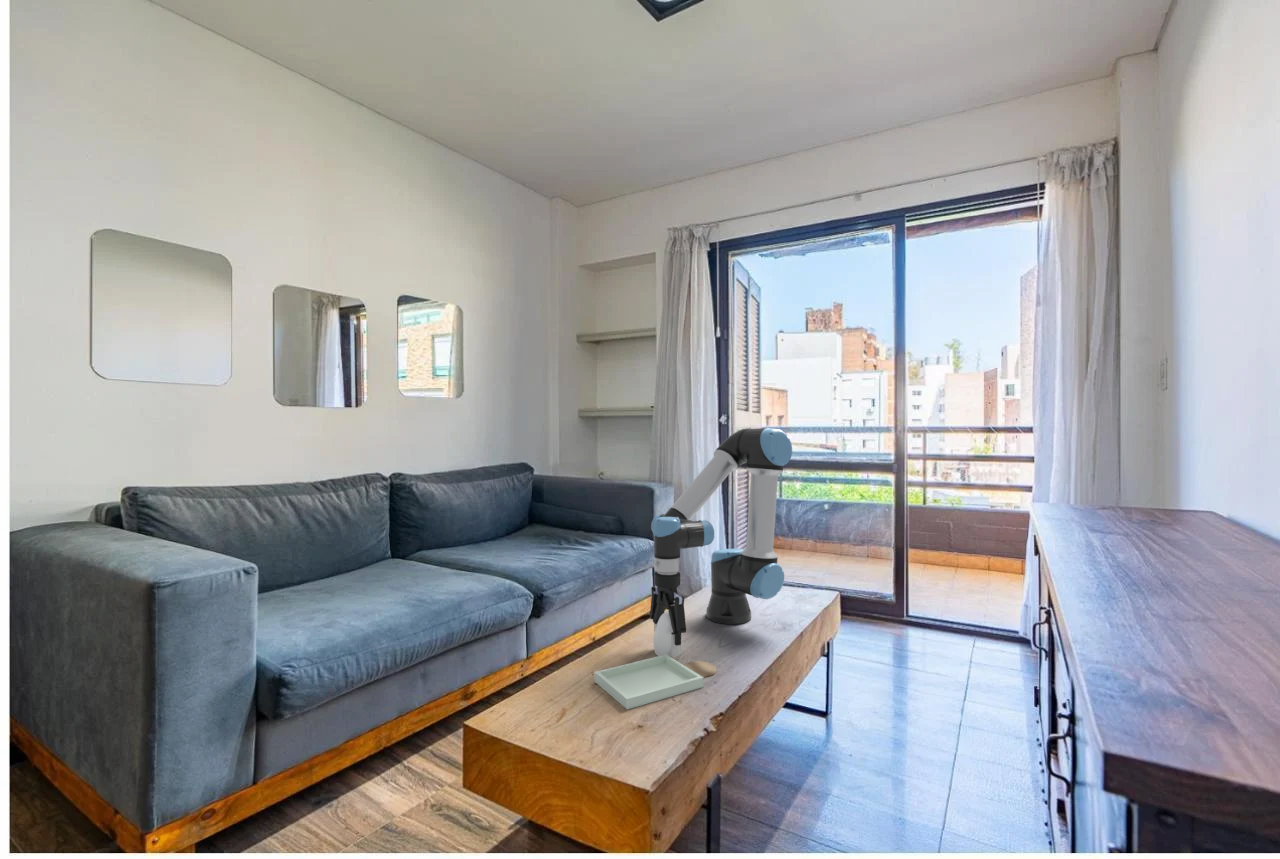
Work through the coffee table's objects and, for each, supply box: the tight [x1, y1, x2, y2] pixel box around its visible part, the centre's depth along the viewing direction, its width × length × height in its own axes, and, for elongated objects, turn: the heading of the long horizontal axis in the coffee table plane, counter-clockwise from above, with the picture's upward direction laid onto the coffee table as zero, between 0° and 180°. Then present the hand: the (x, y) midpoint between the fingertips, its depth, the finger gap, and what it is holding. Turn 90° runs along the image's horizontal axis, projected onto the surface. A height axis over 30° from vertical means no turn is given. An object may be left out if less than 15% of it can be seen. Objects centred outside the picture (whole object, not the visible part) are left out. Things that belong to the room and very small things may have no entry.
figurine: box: [653, 610, 677, 657], centre depth 164 cm, size 7×8×12 cm
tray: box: [594, 654, 705, 710], centre depth 144 cm, size 22×17×2 cm
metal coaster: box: [683, 660, 717, 678], centre depth 152 cm, size 9×9×1 cm
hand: (667, 650), depth 164 cm, fingers closed on figurine, 8 cm apart
